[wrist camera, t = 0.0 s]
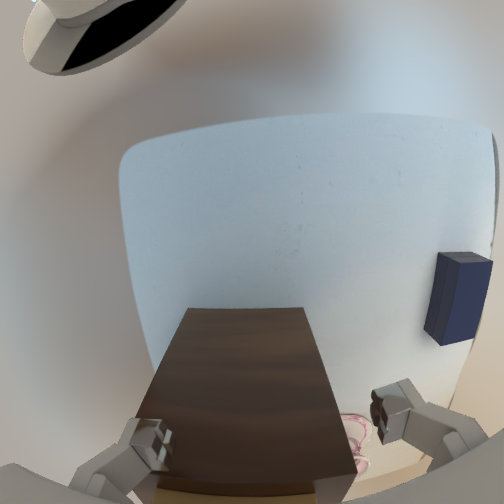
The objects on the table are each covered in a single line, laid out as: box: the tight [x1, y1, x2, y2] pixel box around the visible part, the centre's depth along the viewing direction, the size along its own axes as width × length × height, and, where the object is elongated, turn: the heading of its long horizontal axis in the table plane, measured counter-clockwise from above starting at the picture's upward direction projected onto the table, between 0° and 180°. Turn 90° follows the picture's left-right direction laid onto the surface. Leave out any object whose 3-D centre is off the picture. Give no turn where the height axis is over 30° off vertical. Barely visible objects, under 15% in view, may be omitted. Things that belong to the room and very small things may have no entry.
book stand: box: [133, 308, 358, 504], centre depth 19 cm, size 14×11×18 cm
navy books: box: [424, 252, 493, 346], centre depth 24 cm, size 9×6×4 cm, turn 1°
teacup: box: [340, 415, 373, 480], centre depth 28 cm, size 12×12×6 cm
